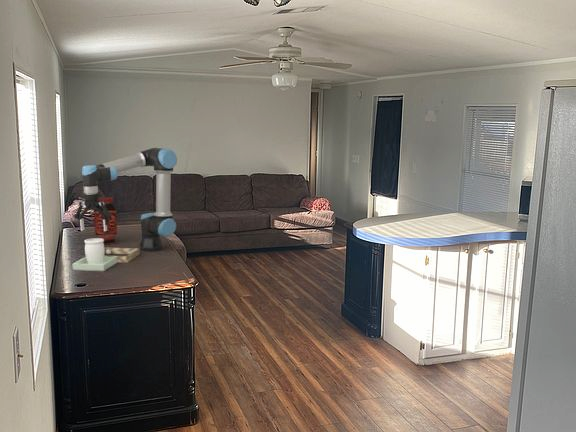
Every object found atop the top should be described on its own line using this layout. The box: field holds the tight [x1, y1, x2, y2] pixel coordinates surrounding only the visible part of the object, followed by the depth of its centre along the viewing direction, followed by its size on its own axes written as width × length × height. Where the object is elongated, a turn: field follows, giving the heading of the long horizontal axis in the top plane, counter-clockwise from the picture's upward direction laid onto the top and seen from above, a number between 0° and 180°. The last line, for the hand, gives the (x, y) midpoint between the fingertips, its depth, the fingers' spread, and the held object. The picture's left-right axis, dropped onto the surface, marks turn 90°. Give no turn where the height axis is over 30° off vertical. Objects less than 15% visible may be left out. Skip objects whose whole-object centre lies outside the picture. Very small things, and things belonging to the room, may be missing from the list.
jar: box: [83, 237, 106, 265], centre depth 325 cm, size 11×10×15 cm
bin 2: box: [104, 247, 141, 264], centre depth 345 cm, size 22×20×4 cm
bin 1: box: [72, 255, 118, 272], centre depth 326 cm, size 18×18×4 cm
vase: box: [93, 196, 118, 246], centre depth 380 cm, size 14×14×30 cm
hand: (94, 230), depth 323 cm, fingers open, 13 cm apart
